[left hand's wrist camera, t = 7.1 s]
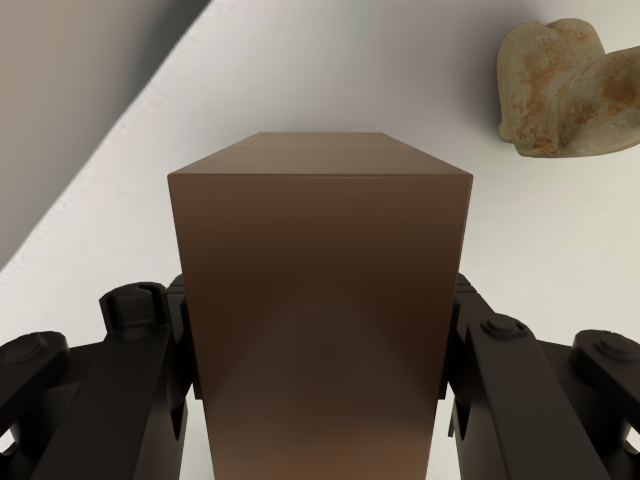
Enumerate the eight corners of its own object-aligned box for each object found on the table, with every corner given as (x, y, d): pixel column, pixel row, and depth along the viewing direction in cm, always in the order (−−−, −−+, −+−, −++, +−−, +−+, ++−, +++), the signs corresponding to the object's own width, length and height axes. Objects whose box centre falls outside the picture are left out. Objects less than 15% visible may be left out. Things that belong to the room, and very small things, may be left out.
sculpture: (583, 20, 21) (1144, -159, 7) (562, 146, 23) (934, 209, 9) (483, 30, 21) (823, -127, 7) (473, 153, 23) (705, 226, 9)
